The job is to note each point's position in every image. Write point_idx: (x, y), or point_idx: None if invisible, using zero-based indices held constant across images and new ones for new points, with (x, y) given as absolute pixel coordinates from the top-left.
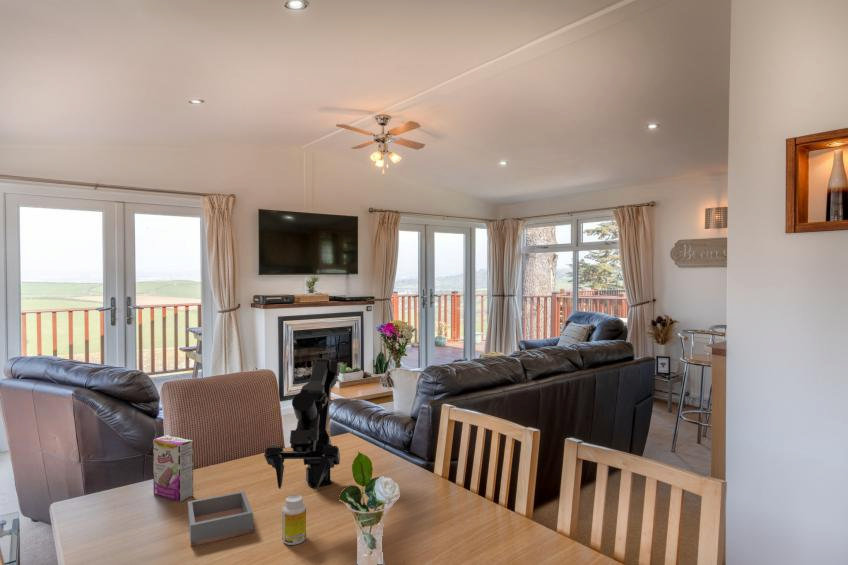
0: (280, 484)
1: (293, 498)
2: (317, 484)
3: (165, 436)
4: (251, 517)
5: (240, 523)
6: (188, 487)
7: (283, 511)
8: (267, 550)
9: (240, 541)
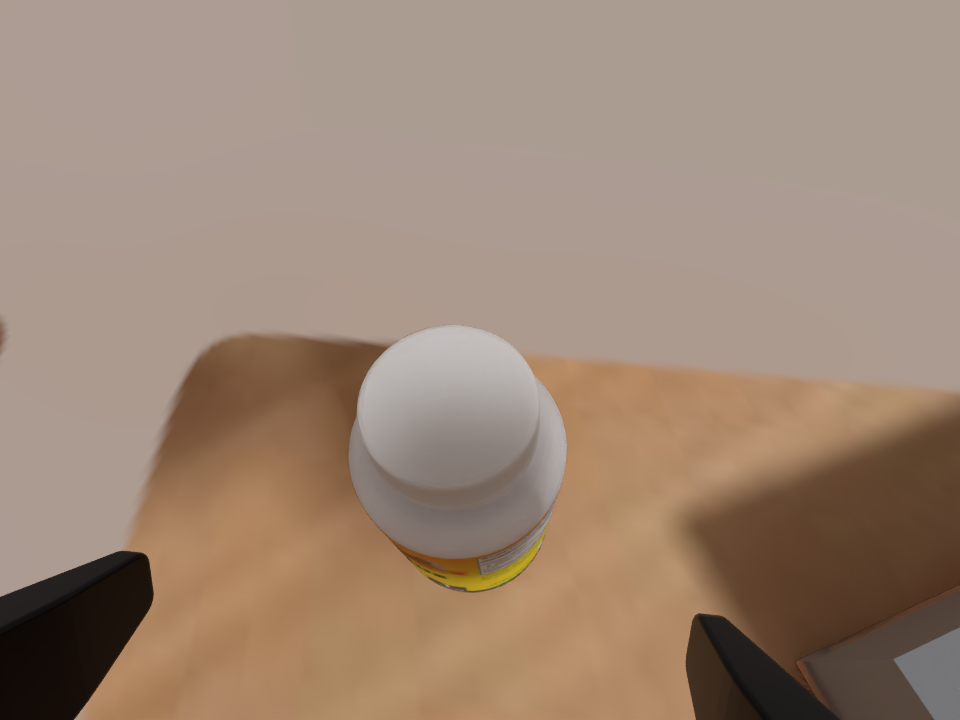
0: (708, 659)
1: (454, 393)
2: (93, 562)
3: None
4: (875, 657)
5: (931, 621)
6: None
7: (543, 386)
8: (607, 421)
9: (820, 539)
